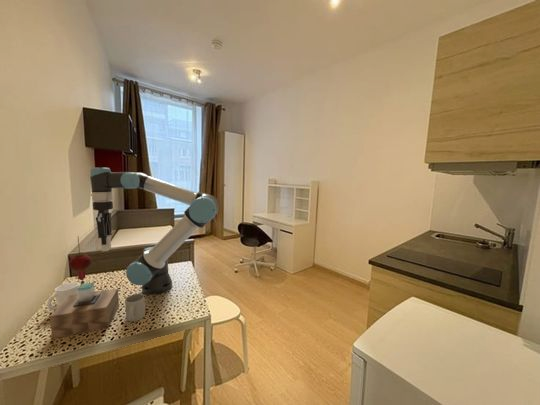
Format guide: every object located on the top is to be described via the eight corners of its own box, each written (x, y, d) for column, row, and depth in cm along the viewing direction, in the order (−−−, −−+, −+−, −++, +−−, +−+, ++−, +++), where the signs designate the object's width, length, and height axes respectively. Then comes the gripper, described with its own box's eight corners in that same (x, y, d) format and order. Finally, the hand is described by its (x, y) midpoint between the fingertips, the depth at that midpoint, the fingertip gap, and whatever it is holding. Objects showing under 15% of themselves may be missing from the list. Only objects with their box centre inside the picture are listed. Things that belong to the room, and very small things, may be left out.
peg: (95, 301, 98) (94, 282, 97) (91, 307, 94) (90, 286, 93) (83, 303, 96) (82, 283, 95) (79, 309, 93) (77, 288, 92)
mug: (54, 318, 97) (51, 296, 96) (42, 314, 100) (40, 292, 99) (84, 304, 108) (82, 283, 107) (73, 300, 111) (71, 281, 110)
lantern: (66, 292, 119) (61, 237, 116) (84, 284, 128) (79, 232, 125) (81, 294, 117) (76, 238, 114) (98, 285, 127) (93, 233, 123)
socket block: (119, 306, 107) (117, 287, 106) (108, 327, 92) (106, 305, 91) (71, 314, 100) (69, 294, 99) (52, 338, 85) (49, 314, 84)
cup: (147, 311, 103) (146, 292, 102) (141, 324, 94) (139, 304, 93) (129, 313, 102) (128, 294, 100) (121, 327, 92) (119, 307, 91)
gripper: (99, 199, 111) (102, 245, 113) (86, 203, 96) (90, 256, 99) (116, 199, 113) (120, 244, 116) (106, 202, 99) (110, 254, 102)
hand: (106, 249), depth 107 cm, fingers open, 3 cm apart
